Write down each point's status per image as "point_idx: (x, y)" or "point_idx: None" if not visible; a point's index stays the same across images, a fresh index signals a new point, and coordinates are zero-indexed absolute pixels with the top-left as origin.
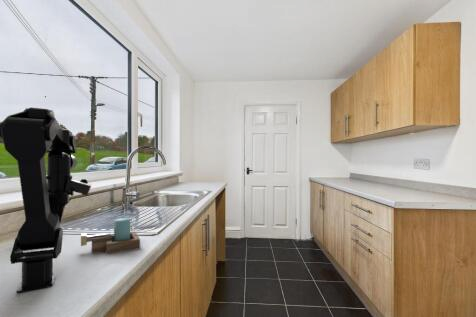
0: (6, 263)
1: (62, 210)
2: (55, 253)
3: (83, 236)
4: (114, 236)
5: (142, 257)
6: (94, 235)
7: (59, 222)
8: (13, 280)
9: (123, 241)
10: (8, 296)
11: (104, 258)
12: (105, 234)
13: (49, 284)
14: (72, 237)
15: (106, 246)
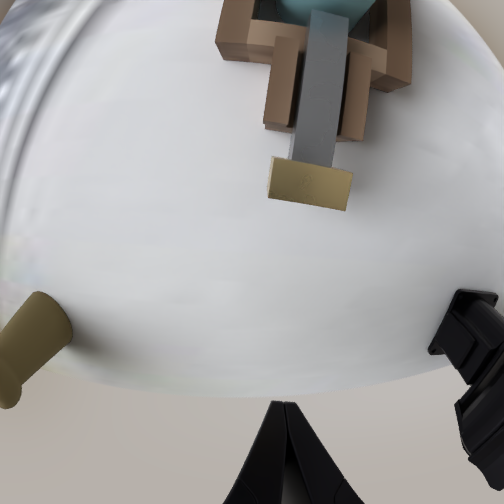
0: (243, 394)
1: (362, 502)
2: None
3: (347, 193)
4: (340, 11)
5: (477, 36)
6: (323, 112)
7: (298, 411)
8: (400, 368)
9: (408, 13)
10: None
11: (433, 122)
12: (342, 47)
13: (496, 300)
14: (36, 207)
15: (384, 80)
